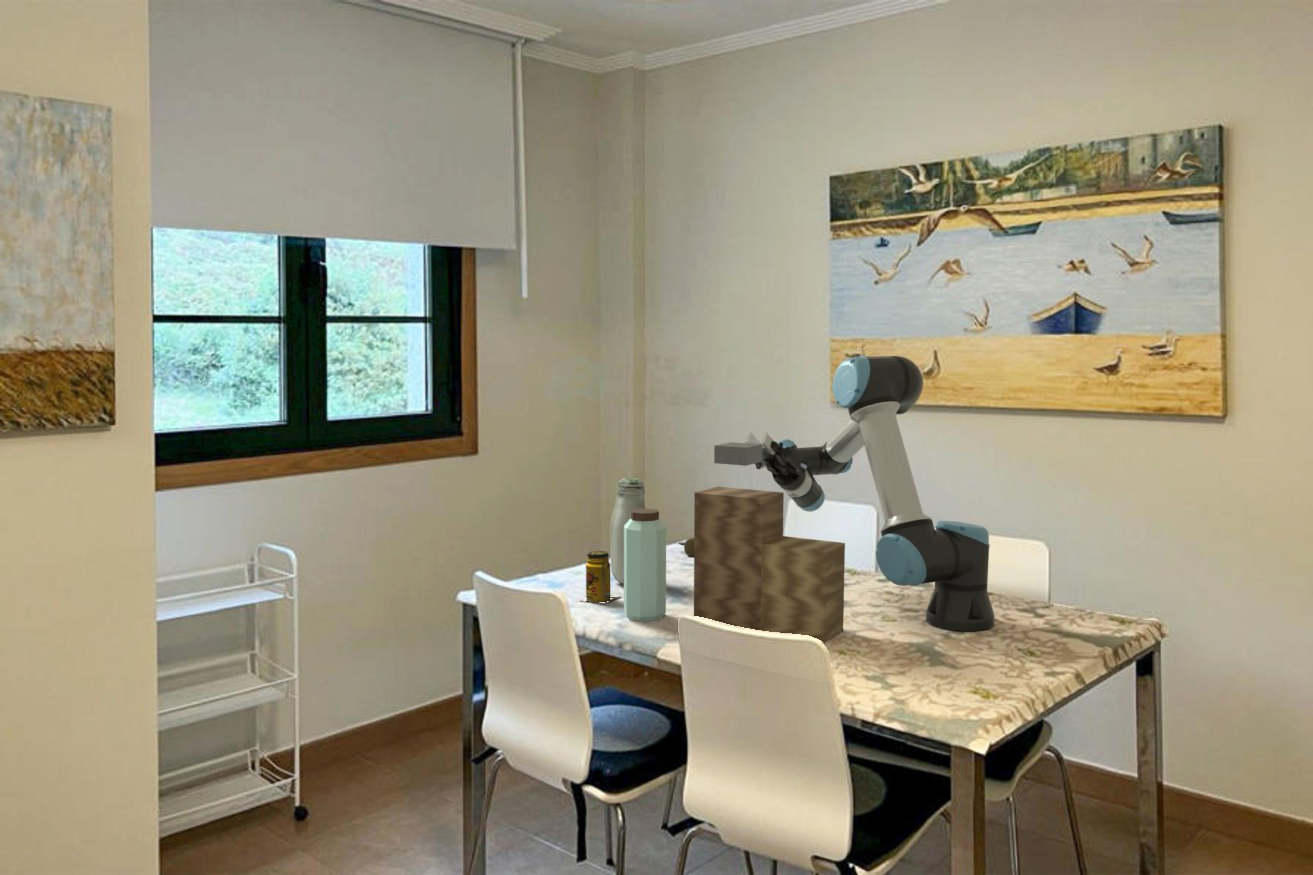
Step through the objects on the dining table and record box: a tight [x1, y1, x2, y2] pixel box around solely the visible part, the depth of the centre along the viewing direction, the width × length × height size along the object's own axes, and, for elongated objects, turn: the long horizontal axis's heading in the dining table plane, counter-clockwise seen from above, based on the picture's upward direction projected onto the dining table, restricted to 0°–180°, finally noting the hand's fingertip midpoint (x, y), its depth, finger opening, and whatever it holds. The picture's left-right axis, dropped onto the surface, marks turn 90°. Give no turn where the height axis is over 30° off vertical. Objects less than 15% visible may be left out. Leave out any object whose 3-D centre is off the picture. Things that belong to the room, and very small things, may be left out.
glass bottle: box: [609, 477, 647, 584], centre depth 287 cm, size 10×10×28 cm
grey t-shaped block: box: [713, 442, 776, 467], centre depth 252 cm, size 8×21×4 cm, turn 149°
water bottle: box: [623, 508, 667, 622], centre depth 254 cm, size 10×10×25 cm
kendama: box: [678, 537, 694, 558], centre depth 323 cm, size 6×10×20 cm
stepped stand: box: [693, 486, 846, 644], centre depth 246 cm, size 32×11×30 cm, turn 59°
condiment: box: [580, 550, 622, 605], centre depth 271 cm, size 7×8×12 cm
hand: (755, 437), depth 254 cm, fingers closed on grey t-shaped block, 3 cm apart
